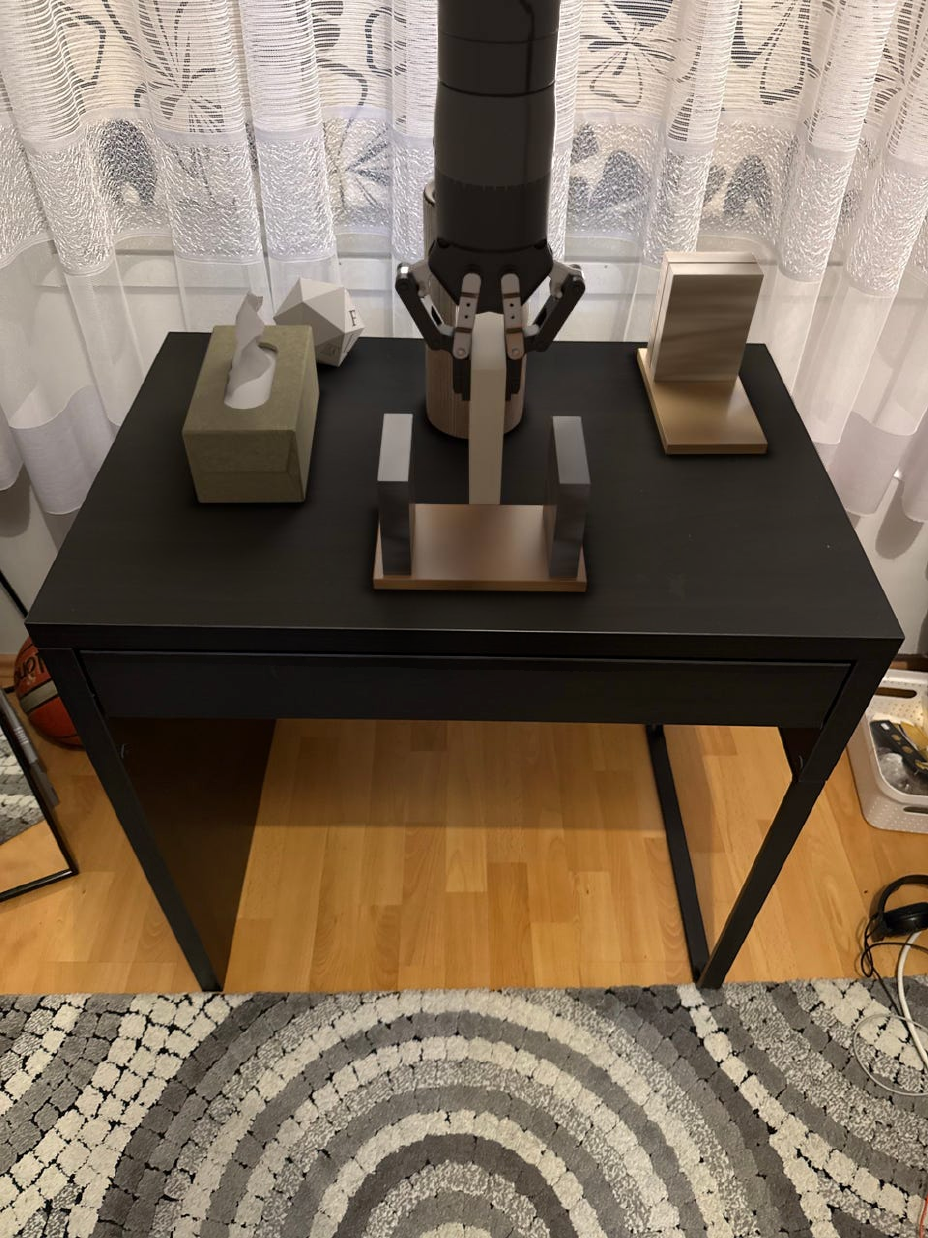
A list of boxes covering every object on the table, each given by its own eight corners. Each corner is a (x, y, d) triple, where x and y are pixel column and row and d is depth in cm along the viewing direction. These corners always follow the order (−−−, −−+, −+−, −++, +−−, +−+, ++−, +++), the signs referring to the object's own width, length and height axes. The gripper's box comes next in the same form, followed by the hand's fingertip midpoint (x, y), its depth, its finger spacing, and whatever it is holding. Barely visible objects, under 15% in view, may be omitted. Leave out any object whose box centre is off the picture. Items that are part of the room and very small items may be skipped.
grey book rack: (575, 515, 86) (589, 412, 78) (585, 592, 79) (601, 488, 71) (381, 513, 86) (374, 409, 78) (373, 589, 79) (365, 485, 71)
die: (307, 392, 100) (359, 319, 95) (246, 334, 100) (294, 258, 95) (341, 378, 108) (390, 311, 103) (283, 324, 107) (330, 254, 102)
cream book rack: (764, 453, 93) (802, 333, 83) (665, 454, 93) (691, 333, 83) (724, 357, 105) (752, 243, 96) (636, 357, 105) (656, 243, 95)
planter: (537, 430, 95) (556, 206, 78) (444, 449, 93) (444, 221, 76) (501, 379, 101) (512, 162, 85) (414, 395, 99) (408, 175, 82)
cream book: (497, 436, 79) (502, 305, 70) (499, 504, 73) (506, 369, 64) (468, 436, 79) (471, 304, 70) (469, 504, 73) (471, 369, 64)
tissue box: (304, 505, 86) (282, 352, 75) (198, 506, 86) (160, 353, 74) (319, 392, 99) (303, 247, 88) (227, 392, 99) (199, 246, 87)
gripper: (378, 179, 56) (392, 423, 68) (611, 182, 56) (581, 425, 68) (386, 133, 61) (397, 368, 73) (598, 136, 61) (573, 369, 73)
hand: (486, 394), depth 71 cm, fingers closed on cream book, 2 cm apart
